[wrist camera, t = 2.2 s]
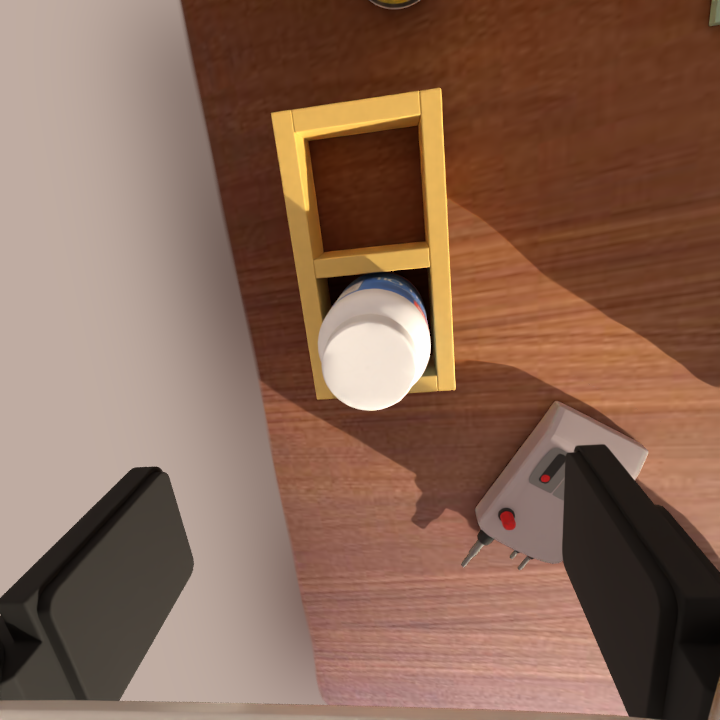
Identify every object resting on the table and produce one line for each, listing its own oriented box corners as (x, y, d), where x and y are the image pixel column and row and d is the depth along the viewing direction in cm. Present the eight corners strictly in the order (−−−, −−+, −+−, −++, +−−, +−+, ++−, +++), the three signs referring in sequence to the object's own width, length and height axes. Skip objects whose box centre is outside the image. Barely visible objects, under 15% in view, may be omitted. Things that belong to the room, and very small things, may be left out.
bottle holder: (326, 377, 30) (316, 400, 26) (287, 123, 25) (270, 112, 21) (449, 368, 29) (455, 390, 25) (435, 102, 24) (441, 87, 20)
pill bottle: (443, 310, 27) (465, 368, 18) (384, 370, 29) (376, 451, 20) (377, 248, 26) (364, 277, 17) (319, 314, 28) (279, 372, 19)
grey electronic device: (661, 422, 29) (690, 446, 26) (521, 583, 34) (532, 618, 31) (572, 375, 28) (591, 395, 25) (444, 547, 33) (448, 579, 31)
